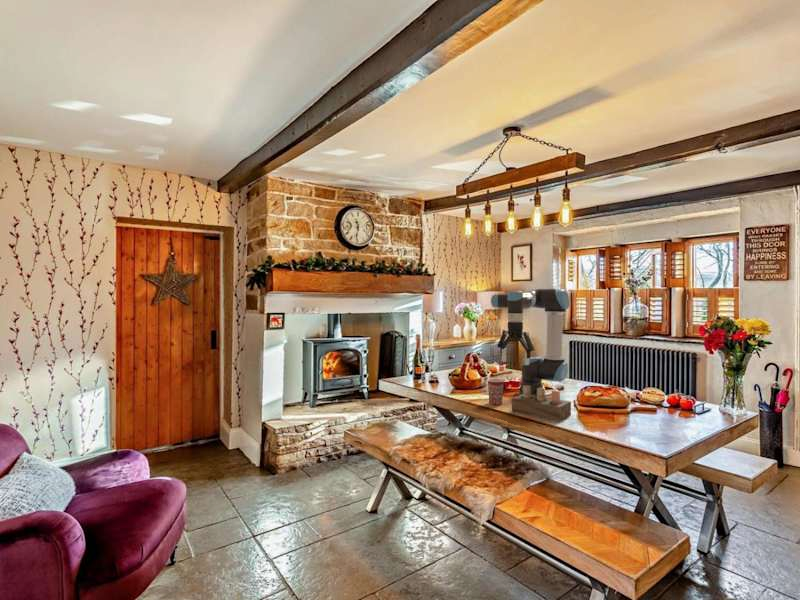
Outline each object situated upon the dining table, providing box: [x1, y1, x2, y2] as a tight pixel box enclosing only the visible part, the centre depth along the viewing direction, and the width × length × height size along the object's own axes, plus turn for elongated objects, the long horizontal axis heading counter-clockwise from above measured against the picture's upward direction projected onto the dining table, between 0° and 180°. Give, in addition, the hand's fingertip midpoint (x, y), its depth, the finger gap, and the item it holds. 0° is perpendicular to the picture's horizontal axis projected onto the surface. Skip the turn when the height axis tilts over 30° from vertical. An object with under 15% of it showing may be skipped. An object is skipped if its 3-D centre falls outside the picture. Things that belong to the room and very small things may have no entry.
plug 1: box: [523, 386, 531, 399], centre depth 237 cm, size 4×4×8 cm
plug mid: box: [537, 387, 546, 402], centre depth 232 cm, size 4×4×8 cm
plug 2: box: [551, 389, 561, 404], centre depth 227 cm, size 4×4×8 cm
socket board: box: [511, 394, 572, 422], centre depth 232 cm, size 14×26×7 cm, turn 48°
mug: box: [487, 377, 507, 406], centre depth 252 cm, size 13×9×14 cm
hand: (515, 363), depth 226 cm, fingers open, 13 cm apart
